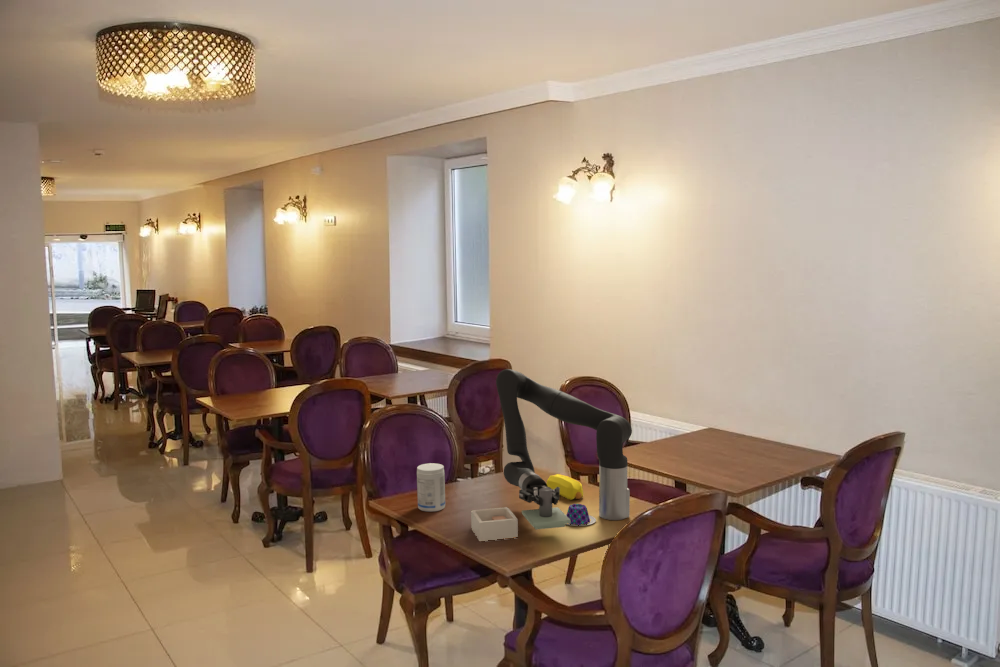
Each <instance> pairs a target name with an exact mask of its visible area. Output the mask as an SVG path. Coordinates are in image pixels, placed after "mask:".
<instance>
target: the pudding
mask: <svg viewBox="0 0 1000 667" xmlns="http://www.w3.org/2000/svg"><path fill="white" fill-rule="evenodd" d="M565 515H566V516H567V517H568V518H569V519H570V520H571V523H568V524H566V525H567V526H575V527H584V526H590V525H592V524H594V523H596V522H597V519H596V518H595V516H593V515H590V514H589V511H588V507H587V506H586V505H585V504H582V503H573V504H570V505H568V508H567V512H566V514H565ZM590 519H591V521H590ZM588 522H589V523H588ZM570 524H571V525H570ZM575 524H576V525H575ZM581 524H582V525H581ZM584 524H585V525H584ZM586 524H587V525H586ZM578 525H579V526H578Z"/></svg>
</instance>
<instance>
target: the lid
mask: <svg viewBox="0 0 1000 667" xmlns="http://www.w3.org/2000/svg"><path fill="white" fill-rule="evenodd" d="M539 496H540V497H541V498H542V500H543V506H540V505H538V507H539V508H537V509H536V508H535V509H523V510H521V515H523V517H524V518H525V520H527V522H528V523H529V524H530V525H531V527H533V528H534V530H545V529H546V530H547V529H556V528H557V529H558V528H565V527H566V525H567V523H568V524H569V523H571V520H570V519H569V518H568V517H567V516H566V514H565V513H564V511H562V510H561V509H560V507H553V503H552V489H550V488H541V489H540V490H539Z"/></svg>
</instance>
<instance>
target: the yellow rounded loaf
mask: <svg viewBox="0 0 1000 667" xmlns="http://www.w3.org/2000/svg"><path fill="white" fill-rule="evenodd" d="M546 484H547V486H548V487H550V488H551V489H555V488H556V487H560V496H561V497H563V498H564V497H565V499H566V498H567V500H569V499H570V500H569V501H572V500H574V499H576V500H580V499H581V498H583V497H584V490H583V489H584V488H583V484H582V483H581V482H580V481H578V480H576V479H574V478H572V477H570V476H567V475H563V474H560V473H556V474H554V475H553V474H552V475H551V474H550V475H549V477H548V478H547V479H546Z"/></svg>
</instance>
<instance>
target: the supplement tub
mask: <svg viewBox="0 0 1000 667" xmlns="http://www.w3.org/2000/svg"><path fill="white" fill-rule="evenodd" d="M445 479H446V478H445V466H444V465H443V464H440V463H433V462H432V463H431V462H429V463H422V464H419V465H418V466H417V467H416V487H417V488H416V489H417V490H416V494H417V508H418V509H419V510H420V511H421V512H429V513H432V512H433V513H434V512H439V511H441V510H444V508H445V507H446V484H445V483H446V481H445Z"/></svg>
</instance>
